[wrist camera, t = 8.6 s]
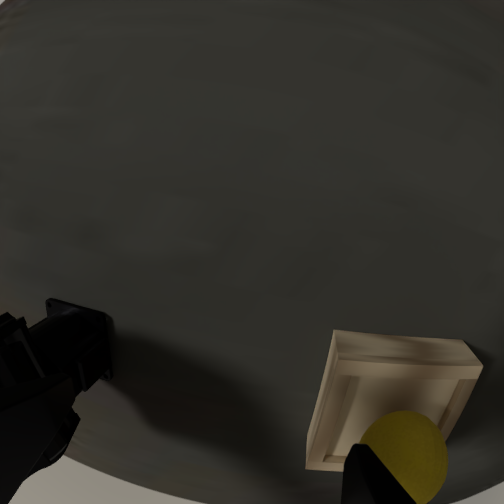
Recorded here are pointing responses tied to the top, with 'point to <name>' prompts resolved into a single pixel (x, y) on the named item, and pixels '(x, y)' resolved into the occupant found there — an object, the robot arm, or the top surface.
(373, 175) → the top surface
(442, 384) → the wooden serving tray
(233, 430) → the top surface
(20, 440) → the robot arm
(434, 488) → the lemon
